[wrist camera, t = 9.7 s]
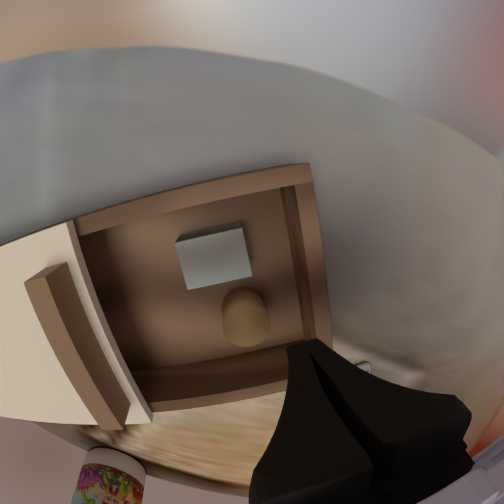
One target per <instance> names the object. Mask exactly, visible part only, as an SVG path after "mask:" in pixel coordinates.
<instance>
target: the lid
mask: <svg viewBox="0 0 504 504" xmlns="http://www.w3.org/2000/svg"><path fill="white" fill-rule="evenodd" d="M0 416H3V417H9V418H15V419H23V420H31V421H40V422H51V423H65V424H93V425H99V426H100V428H101V429H102V430H122V429H124V425H125V424H142V423H152V419H153V414H152V412H151V410H150V408H149V407H148V405H147V403H146V401H145V400H144V398H143V396H142V394H141V392H140V390H139V388H138V387H137V385H136V383H135V381H134V379H133V377H132V375H131V373H130V371H129V369H128V367H127V365H126V363H125V361H124V359H123V357H122V355H121V352H120V350H119V348H118V346H117V344H116V341H115V339H114V337H113V335H112V332H111V330H110V328H109V325H108V323H107V321H106V318H105V316H104V313H103V311H102V308H101V306H100V303H99V300H98V298H97V295H96V292H95V290H94V287H93V284H92V281H91V278H90V276H89V273H88V270H87V267H86V264H85V260H84V257H83V254H82V251H81V248H80V244H79V241H78V237H77V234H76V230H75V227H74V223H73V220H71V221H68V222H65V223H62V224H59V225H56V226H53V227H50V228H47V229H45V230H42V231H39V232H36V233H34V234H31V235H28V236H26V237H23V238H20V239H18V240H15V241H13V242H10V243H8V244H5V245H3V246H0Z"/></svg>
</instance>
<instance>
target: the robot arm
mask: <svg viewBox="0 0 504 504" xmlns="http://www.w3.org/2000/svg"><path fill="white" fill-rule="evenodd" d="M286 353H287V358H288V383H287V389H286V396H285V400H284V405H283V408H282V412H281V415H280V418H279V421H278V424H277V427H276V429H275V432H274V434H273V436H272V438H271V441H270V443H269V445H268V447H267V449H266V451H265V453H264V454H263V456H262V458H261V459H260V461H259V462H258V464H257V466H256V467H255V469H254V470H253V475H252V479H251V484H250V489H249V504H504V434H503V435H502V436H501V437H500V438H498V439H497V440H496V441H495V442H493V443H492V444H491V445H489V446H488V447H487V448H485V449H484V450H483V451H481V452H480V453H479V454H477V455H476V456H474V457H473V458H471V457H470V456H469V454H468V453H467V452H466V450H465V449H466V448H467V444H466V443H465V442H464V441H463V437H464V435H465V433H466V431H467V429H468V427H469V424H470V421H471V418H472V414H471V412H470V410H469V409H468V408H467V407H466V406H465V405H464V404H463V402H462V401H461V400H459V399H458V398H457V397H456V396H455V395H449V394H438V393H429V392H424V391H419V390H414V389H410V388H406V387H403V386H400V385H397V384H393V383H391V382H388V381H385V380H383V379H380V378H378V377H376V376H374V375H372V374H371V365H370V364H369V363H368V362H366V363H363V364H360V365H357V366H355V365H354V364H352V363H351V362H349V361H348V360H346V359H345V358H343V357H342V356H340V355H339V354H337V353H336V352H335V351H333V350H332V349H331V348H329V347H328V346H327V345H326V344H324V343H323V342H322V341H321V340H320V339H318V338H315V339H311V340H308V341H304V342H301V343H297V344H294V345H290V346H288V347H287V348H286Z"/></svg>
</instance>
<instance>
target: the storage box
mask: <svg viewBox="0 0 504 504" xmlns="http://www.w3.org/2000/svg"><path fill="white" fill-rule="evenodd" d="M71 220H73V223H74V227H75V230H76V234H77V237H78V241H79V244H80V248H81V251H82V254H83V257H84V260H85V264H86V267H87V270H88V273H89V276H90V278H91V281H92V284H93V287H94V290H95V292H96V295H97V298H98V300H99V303H100V306H101V308H102V311H103V313H104V316H105V318H106V321H107V323H108V325H109V328H110V330H111V332H112V335H113V337H114V339H115V341H116V344H117V346H118V348H119V350H120V352H121V355H122V357H123V359H124V361H125V363H126V365H127V367H128V369H129V371H130V373H131V375H132V377H133V379H134V381H135V383H136V385H137V387H138V388H139V390H140V392H141V394H142V396H143V398H144V400H145V401H146V403H147V405H148V407H149V408H150V410H151V412H163V411H173V410H182V409H190V408H197V407H204V406H211V405H217V404H223V403H229V402H235V401H240V400H245V399H250V398H255V397H260V396H265V395H269V394H273V393H278V392H282V391H286V389H287V383H288V358H287V353H286V348H287V347H288V346H290V345H294V344H297V343H301V342H304V341H308V340H311V339H315V338H318V339H320V340H321V341H322V342H323V343H324V344H326V345H327V346H328V347H329V348H331V349H332V350H333V345H332V332H331V320H330V309H329V299H328V289H327V280H326V271H325V263H324V255H323V247H322V240H321V232H320V225H319V219H318V212H317V205H316V199H315V193H314V187H313V181H312V175H311V170H310V164H309V163H300V164H288V165H282V166H276V167H271V168H265V169H260V170H255V171H250V172H245V173H240V174H235V175H230V176H226V177H221V178H216V179H212V180H208V181H203V182H199V183H195V184H190V185H186V186H182V187H178V188H174V189H170V190H166V191H162V192H158V193H155V194H151V195H147V196H144V197H140V198H136V199H133V200H129V201H126V202H122V203H119V204H116V205H112V206H109V207H106V208H102V209H99V210H96V211H93V212H90V213H86V214H83V215H80V216H77V217H74V218H71V219H68V220H65V221H62V222H59V223H57V224H54V225H51V226H48V227H45V228H42V229H40V230H37V231H34V232H32V233H29V234H27V235H25V236H22V237H20V238H23V237H26V236H28V235H31V234H34V233H36V232H39V231H42V230H45V229H47V228H50V227H53V226H56V225H59V224H62V223H65V222H68V221H71ZM20 238H18V239H20ZM18 239H15V240H18ZM15 240H13V241H15ZM13 241H11V242H13ZM8 243H10V242H8ZM8 243H6V244H8ZM4 245H5V244H4ZM2 246H3V245H2Z"/></svg>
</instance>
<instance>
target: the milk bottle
mask: <svg viewBox="0 0 504 504" xmlns="http://www.w3.org/2000/svg"><path fill="white" fill-rule="evenodd" d="M145 476H146V473H145V470H144V468H143V466H142V465H141V464H140V463H139V462H138V461H137V460H135V459H134V458H132V457H130V456H128V455H127V454H124V453H122V452H119V451H116V450H113V449H109V448H94V449H91V450H90V451H89V452H88V453H87V455H86V458H85V460H84V463H83V466H82V469H81V472H80V475H79V478H78V481H77V484H76V488H75V491H74V494H73V498H72V501H71V504H142V497H143V490H144V484H145Z"/></svg>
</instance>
